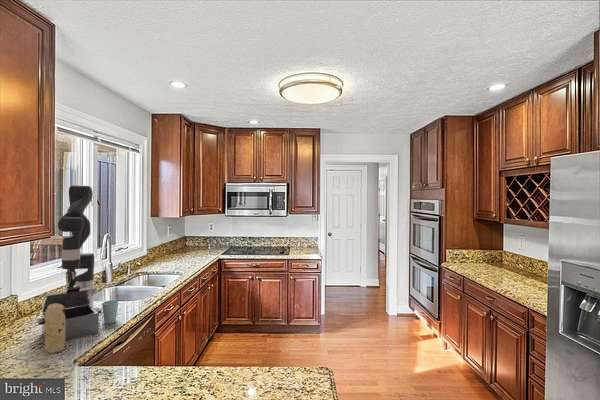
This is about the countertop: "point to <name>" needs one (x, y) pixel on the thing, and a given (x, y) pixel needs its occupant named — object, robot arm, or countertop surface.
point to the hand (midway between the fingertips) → (70, 293)
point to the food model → (55, 328)
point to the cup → (110, 311)
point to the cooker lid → (70, 297)
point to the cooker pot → (78, 322)
